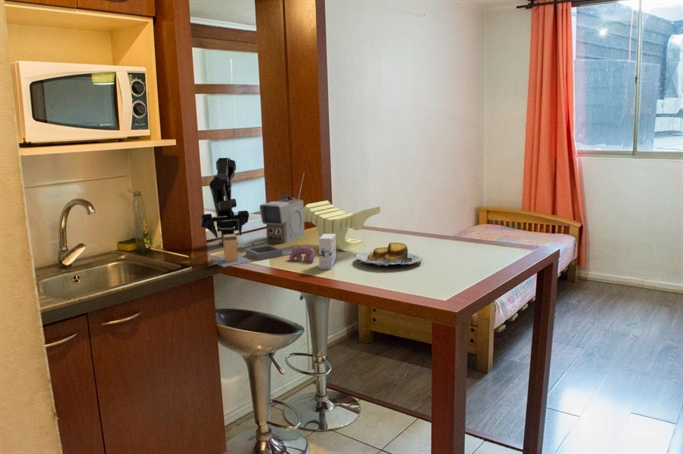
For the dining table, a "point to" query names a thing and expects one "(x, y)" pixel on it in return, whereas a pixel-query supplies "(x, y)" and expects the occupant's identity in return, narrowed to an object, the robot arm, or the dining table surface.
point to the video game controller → (302, 250)
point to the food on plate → (389, 255)
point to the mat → (223, 263)
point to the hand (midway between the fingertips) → (228, 236)
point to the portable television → (283, 219)
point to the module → (230, 247)
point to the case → (268, 252)
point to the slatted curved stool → (337, 222)
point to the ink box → (327, 251)
